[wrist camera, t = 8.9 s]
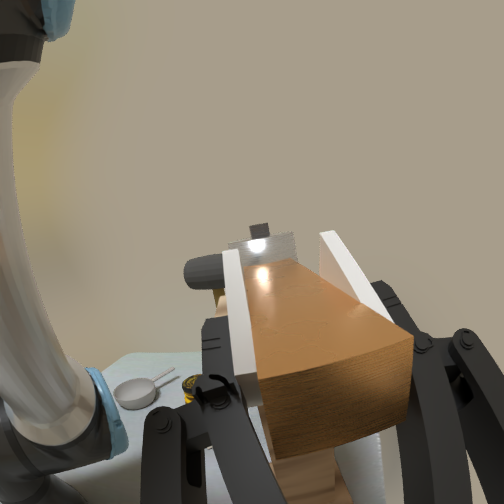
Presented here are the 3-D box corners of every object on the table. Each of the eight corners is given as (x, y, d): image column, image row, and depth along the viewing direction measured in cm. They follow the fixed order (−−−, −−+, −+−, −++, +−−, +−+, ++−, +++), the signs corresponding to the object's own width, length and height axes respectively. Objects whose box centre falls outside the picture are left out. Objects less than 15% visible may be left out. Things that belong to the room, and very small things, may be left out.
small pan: (112, 401, 55) (106, 388, 55) (167, 374, 69) (162, 362, 68) (130, 418, 48) (123, 404, 48) (190, 385, 62) (186, 372, 61)
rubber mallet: (268, 369, 64) (243, 247, 61) (257, 386, 57) (228, 253, 54) (223, 368, 68) (196, 255, 65) (209, 382, 62) (177, 261, 59)
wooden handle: (431, 408, 6) (435, 202, 6) (240, 465, 6) (179, 246, 5) (294, 278, 29) (284, 219, 29) (238, 289, 29) (226, 229, 28)
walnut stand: (354, 511, 20) (358, 309, 17) (272, 530, 20) (207, 342, 17) (330, 454, 32) (313, 277, 29) (264, 469, 32) (219, 296, 29)
